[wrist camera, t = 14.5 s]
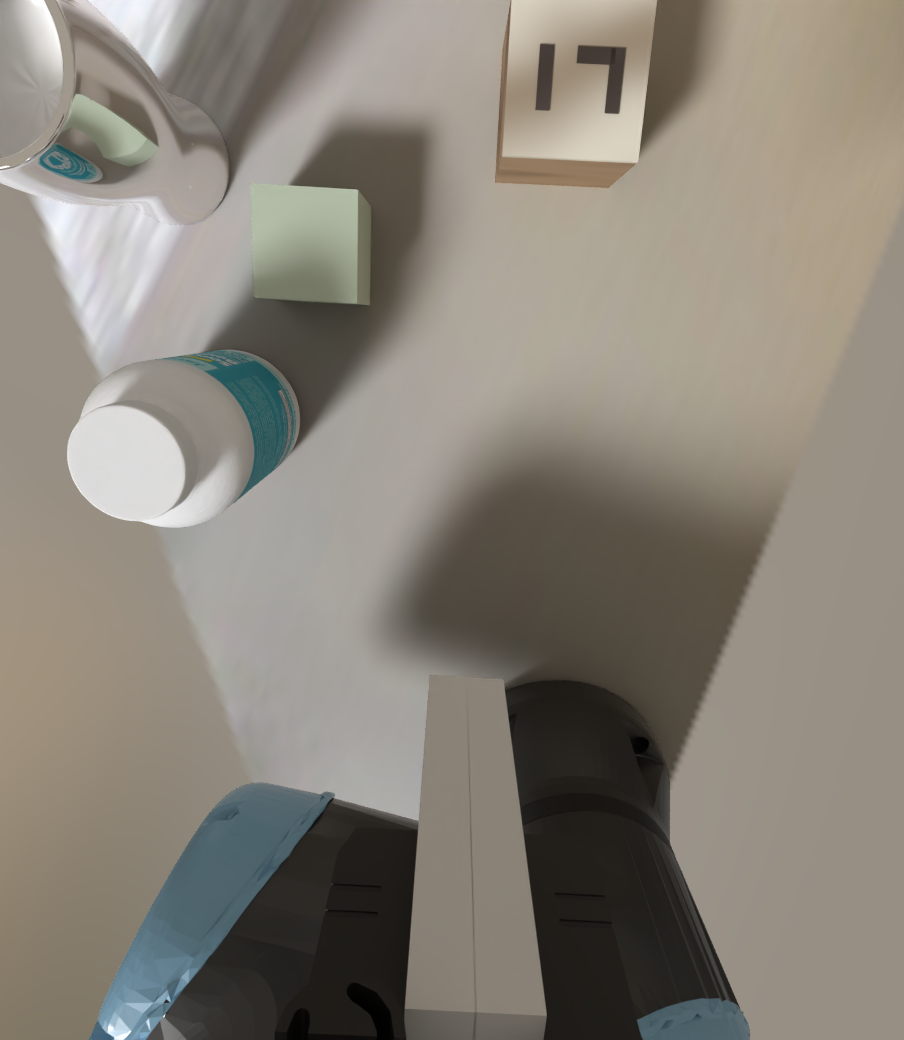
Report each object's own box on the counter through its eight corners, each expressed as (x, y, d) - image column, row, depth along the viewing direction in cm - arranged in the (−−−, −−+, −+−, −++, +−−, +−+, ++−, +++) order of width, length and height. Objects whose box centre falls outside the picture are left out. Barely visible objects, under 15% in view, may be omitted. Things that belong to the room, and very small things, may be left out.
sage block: (370, 305, 36) (356, 303, 31) (280, 300, 36) (253, 297, 31) (371, 207, 34) (358, 189, 30) (278, 201, 34) (249, 183, 30)
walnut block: (657, -2, 26) (621, 55, 32) (512, -9, 26) (502, 49, 32) (638, 161, 28) (607, 188, 34) (502, 154, 28) (495, 182, 34)
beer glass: (124, 241, 35) (-107, 189, 21) (90, 94, 33) (-193, -78, 18) (250, 227, 35) (105, 165, 20) (224, 78, 33) (42, -107, 18)
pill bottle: (264, 326, 36) (158, 332, 23) (325, 444, 38) (259, 510, 25) (152, 381, 37) (-10, 416, 24) (216, 494, 39) (99, 581, 26)
